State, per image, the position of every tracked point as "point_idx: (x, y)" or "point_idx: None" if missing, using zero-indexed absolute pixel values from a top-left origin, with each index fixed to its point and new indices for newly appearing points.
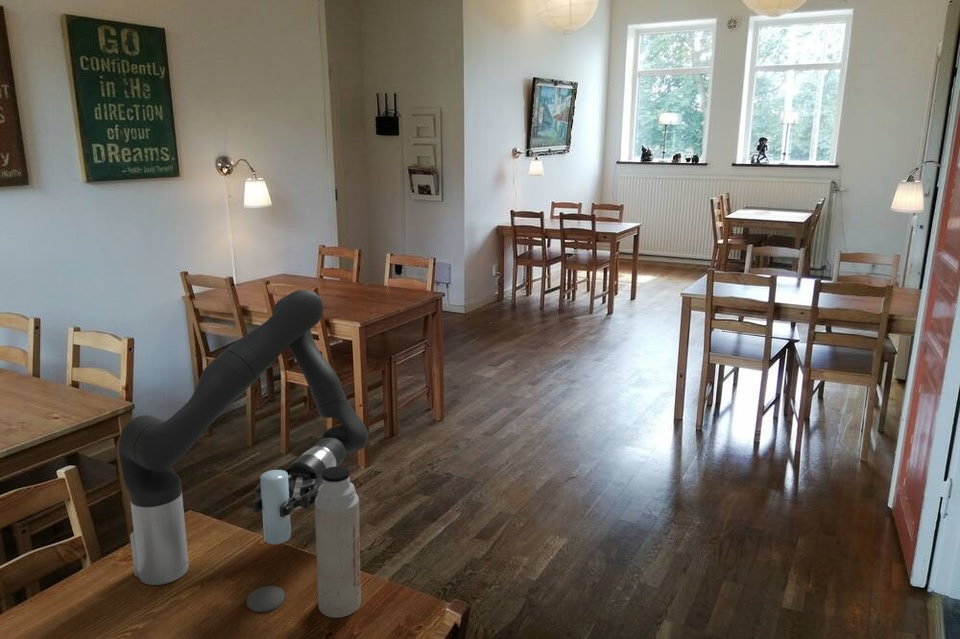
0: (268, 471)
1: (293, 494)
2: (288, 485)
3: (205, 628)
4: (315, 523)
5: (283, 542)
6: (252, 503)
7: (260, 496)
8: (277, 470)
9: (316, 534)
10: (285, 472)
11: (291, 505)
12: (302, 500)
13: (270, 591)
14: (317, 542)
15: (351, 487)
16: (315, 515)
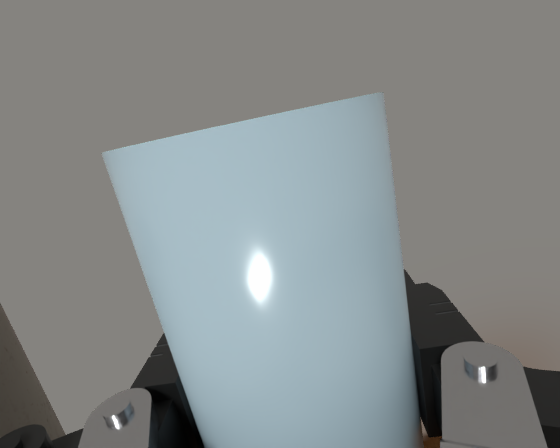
0: (364, 96)
1: (142, 426)
2: (145, 277)
3: (439, 436)
4: (29, 383)
5: None
6: (425, 286)
7: (427, 308)
8: (265, 117)
9: (49, 404)
10: (136, 145)
11: (153, 352)
12: (61, 443)
13: None
14: (61, 427)
15: None
16: (7, 323)
